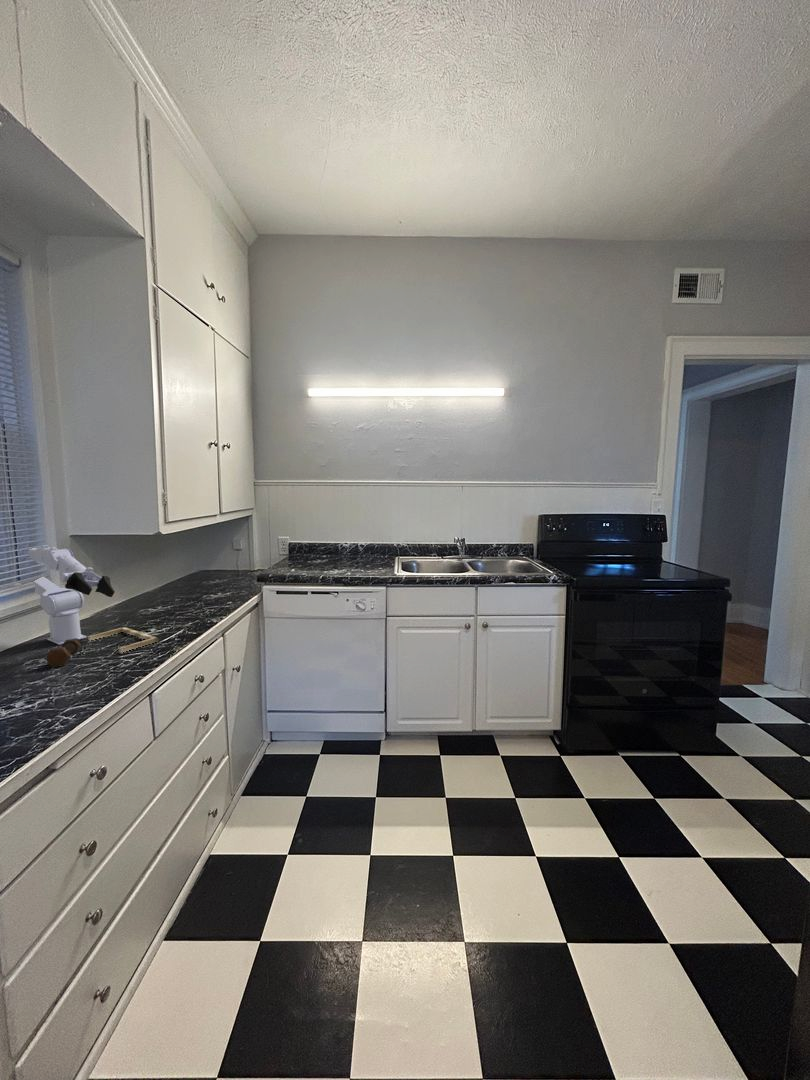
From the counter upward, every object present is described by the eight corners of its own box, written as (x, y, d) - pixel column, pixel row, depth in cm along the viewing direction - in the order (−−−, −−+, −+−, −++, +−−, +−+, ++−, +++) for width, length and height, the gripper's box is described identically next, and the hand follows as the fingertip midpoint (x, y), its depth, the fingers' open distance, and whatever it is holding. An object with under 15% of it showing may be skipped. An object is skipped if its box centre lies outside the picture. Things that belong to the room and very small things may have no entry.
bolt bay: (88, 640, 153) (87, 636, 153) (124, 631, 162) (124, 626, 162) (121, 653, 141) (120, 648, 141) (158, 642, 150) (157, 637, 150)
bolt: (80, 654, 147) (61, 670, 132) (63, 648, 145) (42, 664, 131) (89, 637, 147) (71, 652, 133) (72, 630, 146) (52, 645, 131)
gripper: (59, 557, 141) (85, 578, 136) (102, 564, 155) (128, 584, 150) (47, 577, 141) (73, 600, 136) (91, 583, 154) (116, 603, 150)
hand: (101, 593), depth 143 cm, fingers open, 7 cm apart
